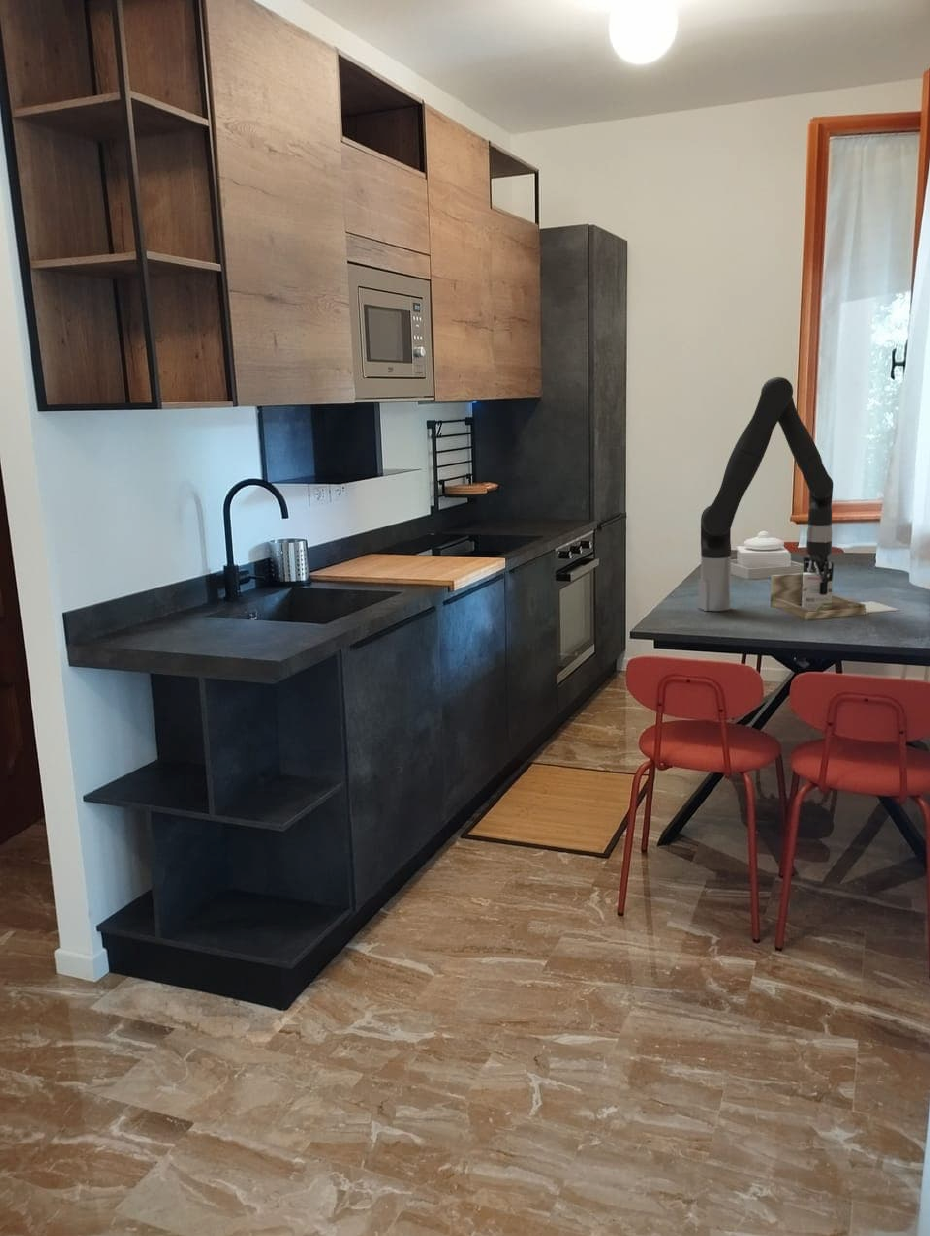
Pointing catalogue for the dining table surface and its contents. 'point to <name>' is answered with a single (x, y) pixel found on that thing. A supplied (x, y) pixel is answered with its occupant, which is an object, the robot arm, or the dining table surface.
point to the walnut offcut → (832, 607)
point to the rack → (790, 597)
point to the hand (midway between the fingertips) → (817, 592)
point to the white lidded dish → (763, 552)
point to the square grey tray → (764, 570)
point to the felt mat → (877, 607)
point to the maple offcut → (852, 606)
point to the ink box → (815, 592)
